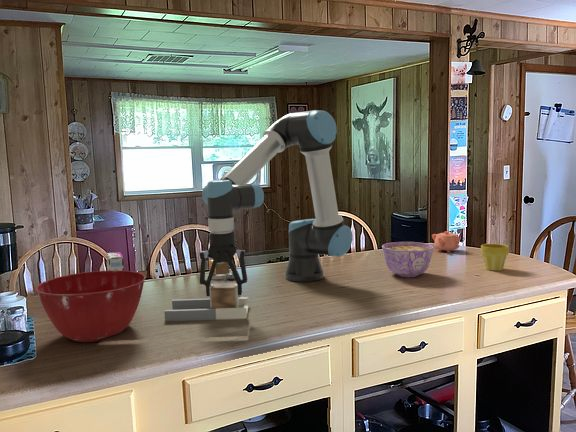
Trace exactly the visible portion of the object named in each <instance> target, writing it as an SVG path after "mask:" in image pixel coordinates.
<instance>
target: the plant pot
mask: <svg viewBox="0 0 576 432" xmlns="http://www.w3.org/2000/svg"><path fill="white" fill-rule="evenodd" d="M509 247H510V246H508V244H501V243H484V244H481V245H480V254H482V258H483V263H484V267H485V268H484V269H486V270H487V271H492V272H493V271H495V272H499V271H503V270H504V267H505V264H506V259H507V256H508V255H509V249H510V248H509Z"/></svg>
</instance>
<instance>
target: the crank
mask: <svg viewBox="0 0 576 432" xmlns="http://www.w3.org/2000/svg"><path fill="white" fill-rule="evenodd" d="M212 263H213V260H210V261H209V260H208V267H210V268H209V270H210V269H211V266H212ZM224 278H226V279H227V280H234V279H235V278H234V275H233V273H232V272H229V273H226V274H222V275H216V268H215V271H214V274H213V277H212V279H224Z"/></svg>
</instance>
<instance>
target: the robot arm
mask: <svg viewBox="0 0 576 432" xmlns="http://www.w3.org/2000/svg"><path fill="white" fill-rule="evenodd" d="M337 129H338V128H337V124H336V121H335V118H333V116H332V115H331V114H330V113H329V112H328V111H326V110H320V109H319V110H317V109H313V110H307V111H299V112H290V113H287V114H284V116H282V117H280V118H279V119H278V120H276V121H275V122H274V123H272V125H270V126H269V127H268V128H267V129H266V130H265V131H264V132H263V134H262V138H260V140H259V141H257V143H256V144H254V146H252V147H251V148H250V149H249V150H248V151H247V152H246V153H245V154H244V155H243V156H242V157H241V158H240V159H239V161H237V162H236V163H235V164H234V165H233V166H232V167H231V168H230V169H229V170H228V171H227V172H225V174H223V175H222V176H221V178H219V179H218V180H210V181H208V182H207V184H206V185H205V186H204V188H203V189H202V191H201V192H202V193H201V197H202V200H203V202H204V203H205V204H206V205H207V214H208V215H207V216H208V218H207V219H208V224H207V225H208V231H209V232H210V233H208V240H209V241H208V243H209V248H208V250H201V251H200V252H199V258H200V272H199V284H200V285H202V286H205V293H206V294H205V295H206V297H209V299H210V308H212V302H211V289H210V288H211V287H212V285H213V284H212V281H211V280H212V277H213V274H214V271H215V268H216V265H217V263H221V262H225V263H228V264H229V269H230V270H231V273H233V275H234V278H235V280H236V282H237V284H235V298H236V307H238V305H239V296H242V293H243V287H242V285H243V284H247V282H248V274H247V269H246V268H247V267H246V261H245V253H246V250H245V249H238V248H237V247H236V246H235V242H236V241H235V232H234V229H235V223H234V220H235V219H234V211H238V210H239V211H240V210H249V209H251V210H252V209H255V208H259V207H261V205H262V204H263V203H264V200H265V193H264V190H263V188H262V187H261V186H260V185H259V184H253V183H249V182H250V181H251V180H252V179H253V178H254V177H256V175H257V174H258V173H259V172H260V171H261V170H262V169H263V168H264V167H265V166H266V165H267V164H268V163H269V162H270V161H271V160H272V159H273V158H274V157H275V156H276V155H277V154H278V153H282V152H284V151H285V150H286V149H287V148H289V147H291V146H299V153H301V154H302V155H304V158H305V163H306V169H307V174H308V175H307V176H308V181H309V187H310V192H311V198H312V199H311V200H312V204H313V205H312V206H313V211H314V217H315V218H307V219H300V220H293V221H291V222H290V223H289V225H288V234H287V235H288V252H289V253H288V255H289V259H288V262H287V266H286V269H285V275H284V276H285V279H286V280H288V281H292V282H315V281H319V280H322V279H323V278H324V269H323V267H322V263H321V261H320V257H319V255H324V256H330V257H342V256H345V255H346V254H347V253H348V251H349V250H350V248H351V246H352V243H353V236H354V235H353V231H352V229H351V228H350V226H348V225H345V222H344V221H345V219H344V218H343V217H342V215H340V214H339V210H338V209H339V208H338V203H337V202H338V201H337V196H336V189H335V184H334V183H335V182H334V178H333V177H334V176H333V170H332V164H331V156H330V150H331V149H332V147H333V142H334V141H335V140H336V135H337V134H338V131H337ZM248 183H249V184H248ZM208 254H210V256H211V257H212V258H213V259H214V260H213V263H212V266H211V269H210V268H209V273H208V276H207V279H206V266H207V259H208V258H209V257H208ZM235 254H237V257H238V258H239V264H240V271H241V276H242V278H241V276H240V273H239V271H238V269H237V267H236V265H235V262H234V259H233V258H234V256H235Z"/></svg>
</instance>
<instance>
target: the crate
mask: <svg viewBox="0 0 576 432" xmlns="http://www.w3.org/2000/svg"><path fill="white" fill-rule="evenodd" d="M235 284H237V282H213V285H212V287H211V288H210V289H211V302H212V309H214V308H237V307H236V298H235Z"/></svg>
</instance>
